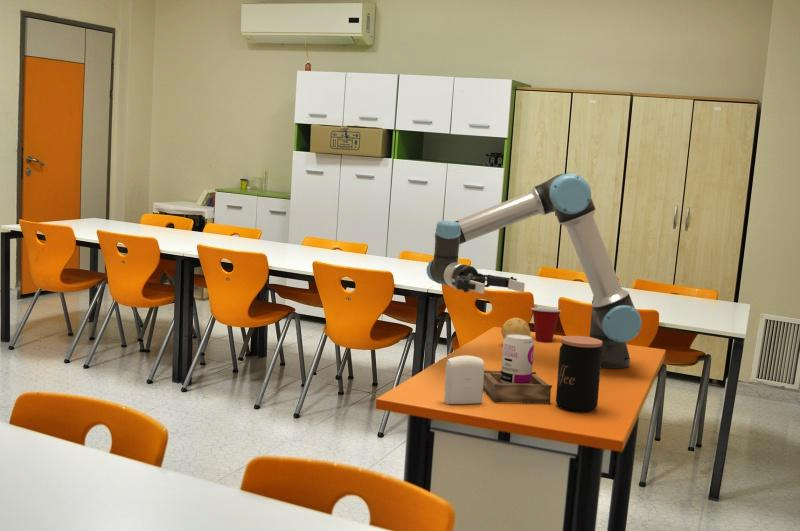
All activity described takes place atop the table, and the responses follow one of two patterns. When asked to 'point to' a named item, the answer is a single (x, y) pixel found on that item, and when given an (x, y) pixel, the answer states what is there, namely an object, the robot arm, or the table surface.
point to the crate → (516, 389)
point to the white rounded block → (464, 380)
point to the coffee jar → (578, 373)
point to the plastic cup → (545, 323)
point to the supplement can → (517, 359)
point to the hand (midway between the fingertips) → (503, 288)
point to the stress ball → (515, 327)
